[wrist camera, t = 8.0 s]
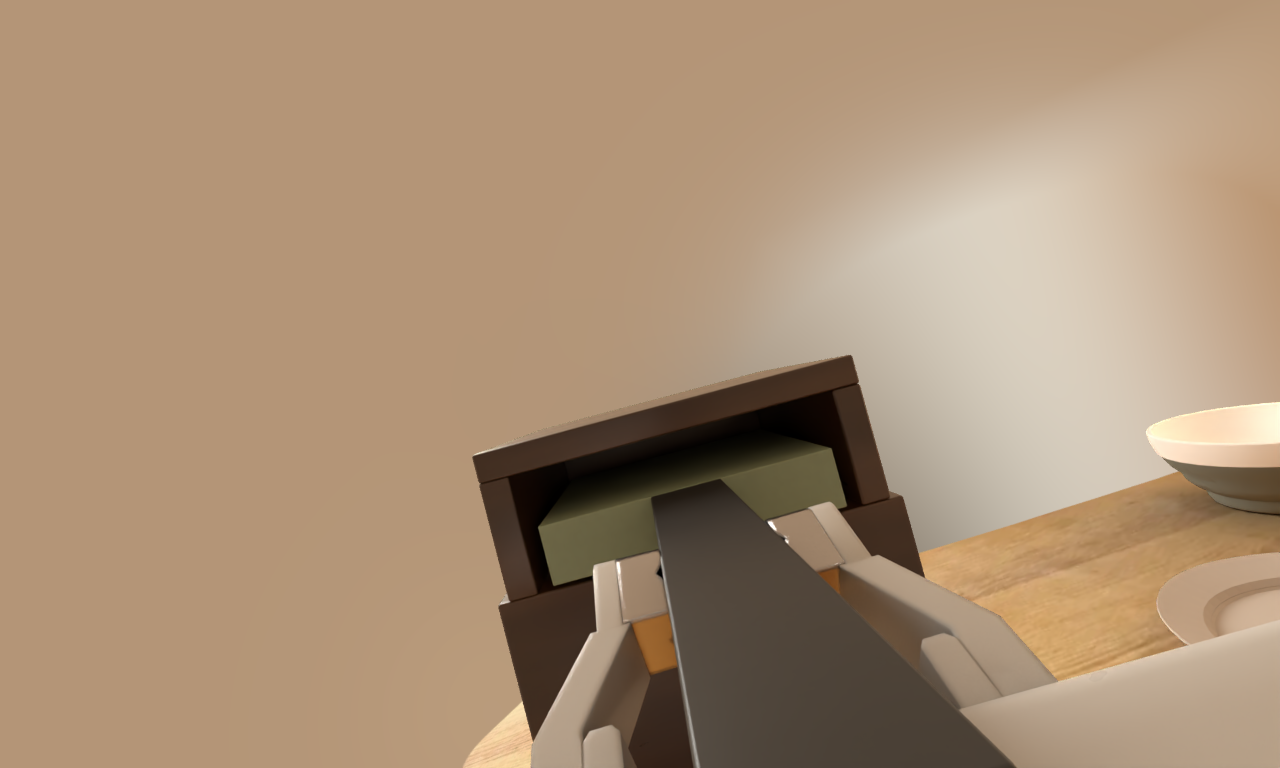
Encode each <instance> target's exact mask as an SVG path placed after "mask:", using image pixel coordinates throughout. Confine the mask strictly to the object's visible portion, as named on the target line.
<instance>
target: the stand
mask: <svg viewBox="0 0 1280 768" xmlns="http://www.w3.org/2000/svg"><path fill="white" fill-rule="evenodd" d="M858 382H859V380H858V376H857V372H856V369H855V365H854V361H853V358H852V356H851V355H846V356H841V357H836V358H830V359H825V360H819V361H814V362H809V363H803V364H798V365H793V366H787V367H782V368H777V369H771V370H766V371H760V372H756V373H753V374H749V375H745V376H741V377H738V378H734V379H730V380H726V381H723V382H719V383H715V384H712V385H707V386H704V387H700V388H696V389H692V390H689V391H685V392H681V393H678V394H674V395H670V396H666V397H663V398H659V399H655V400H651V401H648V402H644V403H640V404H636V405H632V406H628V407H625V408H621V409H617V410H614V411H610V412H606V413H602V414H598V415H595V416H591V417H587V418H583V419H579V420H576V421H572V422H568V423H564V424H561V425H557V426H553V427H549V428H546V429H542V430H539V431H537V432H534V433H531V434H528V435H526V436H523V437H520V438H518V439H515V440H513V441H510V442H507V443H504V444H501V445H499V446H496V447H493V448H491V449H488V450H485V451H483V452H480V453H477V454H475V455H473V457H472V458H473V462H474V466H475V470H476V474H477V478H478V481H479V483H480V490H481V494H482V498H483V502H484V506H485V510H486V514H487V517H488V521H489V525H490V529H491V533H492V537H493V541H494V545H495V549H496V553H497V556H498V560H499V564H500V568H501V572H502V576H503V580H504V584H505V587H506V591H507V593H506V595H505V596H504V598H503V599H502V601H501V602H500V604H499V612H500V615H501V619H502V623H503V627H504V631H505V635H506V639H507V643H508V646H509V650H510V654H511V658H512V662H513V666H514V670H515V674H516V678H517V682H518V685H519V689H520V693H521V697H522V701H523V705H524V709H525V713H526V717H527V720H528V724H529V728H530V732H531V736H532V740H533V741H534V739H535V738H536V736H537V734H538V732H539V730H540V728H541V726H542V724H543V722H544V720H545V719H546V717H547V715H548V713H549V711H550V709H551V707H552V705H553V703H554V701H555V700H556V698H557V696H558V694H559V692H560V690H561V688H562V686H563V684H564V682H565V681H566V679H567V677H568V675H569V673H570V671H571V669H572V667H573V665H574V663H575V662H576V660H577V658H578V656H579V654H580V652H581V650H582V648H583V646H584V644H585V643H586V641H587V639H588V637H589V635H590V633H594V632H597V627H596V612H595V597H594V582H593V576H589V577H585V578H582V579H578V580H574V581H570V582H567V583H563V584H559V585H556V586H554V585H553V583H552V579H551V575H550V571H549V568H548V564H547V560H546V556H545V552H544V548H543V544H542V541H541V537H540V533H539V529H538V527H539V525H540V524H541V523H542V521H543V520H544V519H545V517H546V516H547V514H548V513H549V512H550V510H551V509H552V508H553V506H554V505H555V503H556V502H557V501H558V499H559V498H560V497H561V495H562V494H563V492H564V491H565V490H566V488H567V487H568V486H569V484H570V483H571V481H572V480H573V479H576V478H580V477H584V476H588V475H591V474H595V473H599V472H603V471H606V470H610V469H614V468H618V467H621V466H625V465H629V464H633V463H636V462H640V461H644V460H647V459H651V458H655V457H659V456H662V455H666V454H670V453H674V452H677V451H681V450H685V449H689V448H692V447H696V446H700V445H704V444H707V443H711V442H715V441H718V440H722V439H726V438H730V437H733V436H737V435H741V434H745V433H748V432H752V431H756V430H760V429H762V430H765V431H769V432H773V433H776V434H780V435H784V436H787V437H791V438H795V439H799V440H802V441H806V442H810V443H813V444H817V445H821V446H824V447H828V448H831V449H832V452H833V456H834V460H835V463H836V467H837V471H838V474H839V478H840V482H841V485H842V489H843V493H844V496H845V500H846V504H847V506H846V507H843V508H840V509H838V511H839V512H840V513H841V515H842V516H843V518H844V519H845V520H846V522H847V523H848V524H849V526H850V527H851V529H852V530H853V531H854V533H855V534H856V536H857V537H858V538H859V540H860V541H861V542H862V544H863V545H864V547H865V548H866V549H867V551H868V552H869V553H870V555H871V556H876V555H880V556H882V557H884V558H886V559H888V560H890V561H892V562H894V563H896V564H898V565H900V566H902V567H904V568H906V569H908V570H910V571H912V572H914V573H916V574H918V575H920V576H922V577H924V578H925V576H924V572H923V568H922V565H921V561H920V557H919V554H918V550H917V546H916V543H915V539H914V535H913V532H912V528H911V524H910V521H909V517H908V514H907V510H906V507H905V503H904V499H903V497H902V496H901V495H898V494H896V493H893V492H890V491H889V489H888V486H887V482H886V479H885V475H884V471H883V467H882V464H881V460H880V456H879V453H878V449H877V446H876V442H875V439H874V435H873V431H872V427H871V424H870V420H869V416H868V413H867V409H866V405H865V402H864V398H863V395H862V391H861V387H860V385H859V384H857V383H858ZM628 749H629V751H630V754H631V756H632V758H633V760H634V762H635V765H636V767H637V768H693V762H692V756H691V749H690V743H689V737H688V731H687V724H686V718H685V712H684V705H683V699H682V693H681V686H680V680H679V674H678V668H677V667H676V668H673V669H669V670H666V671H663V672H660V673H656V674H653V675H650V681H649V684H648V688H647V691H646V694H645V697H644V700H643V703H642V706H641V709H640V712H639V716H638V719H637V722H636V725H635V728H634V731H633V734H632V737H631V740H630V743H629V747H628Z"/></svg>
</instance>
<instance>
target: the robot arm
mask: <svg viewBox="0 0 1280 768" xmlns="http://www.w3.org/2000/svg"><path fill="white" fill-rule="evenodd" d="M765 522H766V523H767V524H768V525H769V526H770V527H771V528H772V529H773V530H774V531H775V532H776V533H777V534H778V535H779V536H780V537H781V538H782V539H783V540H784V541H785V542H786V543H787V544H788V545H789V546H790V547H791V548H792V549H793V550H794V551H795V552H796V553H798V554H799V555H800V556H801V557H802V558H803V559H804V560H805V561H806V562H807V563H808V564H809V565H810V566H811V567H812V568H813V569H814V570H815V571H816V572H817V573H818V574H819V575H820V576H821V577H822V578H823V579H824V580H825V581H826V582H827V583H828V584H829V585H830V586H832V587H833V588H834V589H835V590H836V591H837V592H838V593H839V594H840V595H841V596H842V597H843V598H844V599H845V600H846V601H847V602H848V603H849V604H850V605H851V606H852V607H853V608H854V609H855V610H856V611H857V612H858V613H859V614H860V615H861V616H862V617H863V618H864V619H866V620H867V621H868V622H869V623H870V624H871V625H872V626H873V627H874V628H875V629H876V630H877V631H878V632H879V633H880V634H881V635H882V636H883V637H884V638H885V639H886V640H887V641H888V642H889V643H890V644H891V645H892V646H893V647H894V648H895V649H896V650H897V651H898V652H900V653H901V654H902V655H903V656H904V657H905V658H906V659H907V660H908V661H909V662H910V663H911V664H912V665H913V666H914V667H915V668H916V669H917V670H918V671H919V672H920V673H921V674H922V675H923V676H924V677H925V678H926V679H927V680H928V681H929V682H930V683H931V684H932V685H934V686H935V687H936V688H937V689H938V690H939V691H940V692H941V693H942V694H943V695H944V696H945V697H946V698H947V699H948V700H949V701H950V702H951V703H952V704H953V705H954V706H955V707H956V708H957V709H958V710H959V711H960V712H961V713H962V714H963V715H964V716H965V717H966V718H968V719H969V720H970V721H971V722H972V723H973V724H974V725H975V726H976V727H977V728H978V729H979V730H980V731H981V732H982V733H983V734H984V735H985V736H986V737H987V738H988V739H989V740H990V741H991V742H992V743H993V744H994V745H995V746H996V747H997V748H998V749H999V750H1000V751H1002V752H1003V753H1004V754H1005V755H1006V756H1007V757H1008V758H1009V759H1010V760H1011V761H1012V762H1013V763H1014V764H1015V766H1016V767H1017V768H1280V620H1276V621H1272V622H1269V623H1265V624H1262V625H1258V626H1255V627H1251V628H1248V629H1244V630H1240V631H1237V632H1233V633H1230V634H1226V635H1223V636H1219V637H1215V638H1212V639H1208V640H1205V641H1201V642H1198V643H1194V644H1191V645H1187V646H1183V647H1180V648H1176V649H1173V650H1169V651H1166V652H1162V653H1158V654H1155V655H1151V656H1148V657H1144V658H1141V659H1137V660H1134V661H1130V662H1126V663H1123V664H1119V665H1116V666H1112V667H1109V668H1105V669H1101V670H1098V671H1094V672H1091V673H1087V674H1084V675H1080V676H1076V677H1073V678H1069V679H1066V680H1062V681H1059V682H1058V680H1057V679H1056V678H1055V677H1054V676H1053V675H1052V674H1051V673H1050V671H1049V670H1048V669H1047V668H1046V667H1045V666H1044V665H1043V664H1042V662H1041V661H1040V660H1039V659H1038V658H1037V657H1036V656H1035V655H1034V653H1033V652H1032V651H1031V650H1030V649H1029V648H1028V647H1027V646H1026V644H1025V643H1024V642H1023V641H1022V640H1021V639H1020V638H1019V637H1018V635H1017V634H1016V633H1015V632H1014V631H1013V630H1012V629H1011V628H1010V626H1009V625H1008V624H1007V623H1006V622H1005V621H1004V620H1003V619H1002V617H1001V616H999V615H997V614H995V613H993V612H991V611H989V610H987V609H985V608H983V607H981V606H979V605H977V604H975V603H973V602H971V601H969V600H967V599H965V598H963V597H961V596H959V595H957V594H955V593H953V592H951V591H949V590H947V589H945V588H943V587H941V586H939V585H937V584H935V583H933V582H932V581H930V580H928V579H926V578H924V577H922V576H920V575H918V574H916V573H914V572H912V571H910V570H908V569H906V568H904V567H902V566H900V565H898V564H896V563H894V562H892V561H890V560H888V559H886V558H884V557H882V556H880V555H876V556H871V555H870V553H869V552H868V551H867V549H866V548H865V547H864V545H863V544H862V542H861V541H860V540H859V538H858V537H857V536H856V534H855V533H854V531H853V530H852V529H851V527H850V526H849V524H848V523H847V522H846V520H845V519H844V518H843V516H842V515H841V513H840V512H839V511H838V509H837V508H836V507H835V505H834V504H833V503H831V502H830V501H829V502H826V503H822V504H819V505H815V506H811V507H808V508H803V509H800V510H796V511H793V512H789V513H786V514H782V515H779V516H775V517H772V518H768V519H765ZM593 582H594V597H595V612H596V627H597V632H594V633H590V635H589V637H588V639H587V641H586V643H585V644H584V646H583V648H582V650H581V652H580V654H579V656H578V658H577V660H576V662H575V663H574V665H573V667H572V669H571V671H570V673H569V675H568V677H567V679H566V681H565V682H564V684H563V686H562V688H561V690H560V692H559V694H558V696H557V698H556V700H555V701H554V703H553V705H552V707H551V709H550V711H549V713H548V715H547V717H546V719H545V720H544V722H543V724H542V726H541V728H540V730H539V732H538V734H537V736H536V738H535V739H534V741H533V743H532V751H531V768H637V767H636V765H635V762H634V760H633V758H632V756H631V754H630V751H629V749H628V747H629V743H630V740H631V737H632V734H633V731H634V728H635V725H636V722H637V719H638V716H639V712H640V709H641V706H642V703H643V700H644V697H645V694H646V691H647V688H648V684H649V681H650V675H653V674H656V673H660V672H663V671H666V670H669V669H673V668H676V667H677V661H676V655H675V649H674V642H673V636H672V630H671V623H670V617H669V611H668V605H667V598H666V592H665V586H664V579H663V573H662V567H661V557H660V551H659V549H656V550H652V551H647V552H643V553H639V554H635V555H631V556H627V557H623V558H619V559H616V560H612V561H608V562H604V563H600V564H596V565H594V568H593Z"/></svg>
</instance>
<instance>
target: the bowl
mask: <svg viewBox="0 0 1280 768" xmlns="http://www.w3.org/2000/svg"><path fill="white" fill-rule="evenodd" d="M1146 435H1147V437H1148V440H1149V442H1150V444H1151V445H1152V447H1153V448H1154V450H1155V452H1156V453H1157V454H1158V455H1159V456H1161V457H1162V458H1163V459H1164V460H1165V461H1166V462H1167V463H1169V464H1170V465H1171V466H1172V467H1173V468H1175V469H1176V470H1178V471H1180V472H1181V473H1182V474H1183V475H1184V477H1185V478H1186V479H1187V480H1188V481H1190V482H1191V483H1193V484H1194V485H1196V486H1198V487H1200V488H1202V489H1205V490H1207V492H1208V494H1209V495H1210V496H1211V497H1212V498H1213V499H1214V500H1215V501H1216V502H1218V503H1220V504H1222V505H1225V506H1229V507H1232V508H1236V509H1240V510H1245V511H1250V512H1257V513H1267V514H1280V402H1279V403H1265V404H1254V405H1245V406H1235V407H1228V408H1219V409H1213V410H1207V411H1201V412H1196V413H1190V414H1186V415H1181V416H1177V417H1173V418H1169V419H1167V420H1163V421H1160V422H1158V423H1156V424H1154V425H1151V426H1150V427H1149V428H1148V429H1147V430H1146Z"/></svg>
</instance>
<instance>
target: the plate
mask: <svg viewBox="0 0 1280 768" xmlns="http://www.w3.org/2000/svg"><path fill="white" fill-rule="evenodd" d="M1156 602H1157V610H1158V612H1159V615H1160V617H1161V619H1162V620H1163V622H1164V623H1165V624H1166V626H1167V627H1168V628H1169V630H1171V631H1172V632H1173V633H1174V634H1175V635H1176V636H1177V637H1178V638H1179V639H1180V640H1181V641H1183V642H1184V643H1185V644H1187V645H1191V644H1194V643H1198V642H1201V641H1205V640H1208V639H1212V638H1215V637H1219V636H1223V635H1226V634H1230V633H1233V632H1237V631H1240V630H1244V629H1248V628H1251V627H1255V626H1258V625H1262V624H1265V623H1269V622H1272V621H1276V620H1280V552H1278V553H1265V554H1255V555H1246V556H1239V557H1232V558H1227V559H1222V560H1217V561H1212V562H1209V563H1205V564H1201V565H1198V566H1195V567H1192V568H1190V569H1187V570H1185V571H1182V572H1181V573H1179V574H1177V575H1175V576H1173V577H1172V578H1171V579H1169V580H1168V581H1167V582H1166V583H1165V584H1164V585H1163V586H1162V588H1161V589H1160V590H1159V593H1158V597H1157V600H1156Z"/></svg>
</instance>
